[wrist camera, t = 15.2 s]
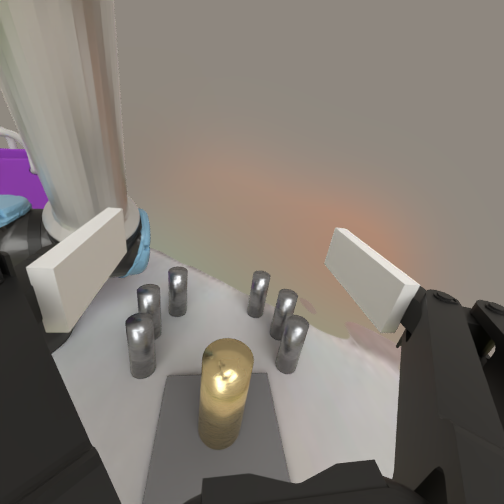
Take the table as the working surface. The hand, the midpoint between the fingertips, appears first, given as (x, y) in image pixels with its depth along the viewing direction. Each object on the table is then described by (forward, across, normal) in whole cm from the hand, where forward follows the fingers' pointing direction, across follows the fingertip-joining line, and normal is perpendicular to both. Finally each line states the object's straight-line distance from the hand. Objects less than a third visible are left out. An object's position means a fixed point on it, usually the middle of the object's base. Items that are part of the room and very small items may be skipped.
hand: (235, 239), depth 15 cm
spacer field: (+20, +2, -30) cm, 36 cm away
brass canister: (+5, +1, -29) cm, 30 cm away
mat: (+4, +2, -30) cm, 30 cm away
